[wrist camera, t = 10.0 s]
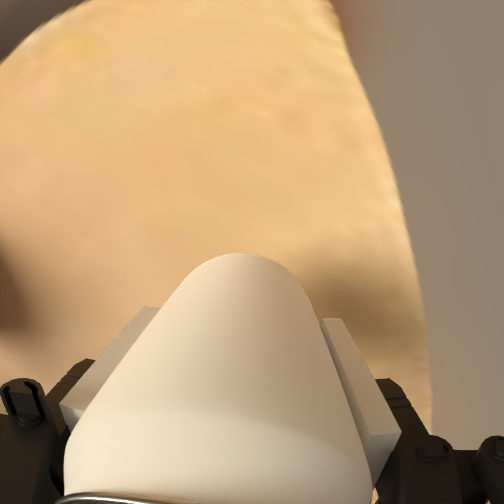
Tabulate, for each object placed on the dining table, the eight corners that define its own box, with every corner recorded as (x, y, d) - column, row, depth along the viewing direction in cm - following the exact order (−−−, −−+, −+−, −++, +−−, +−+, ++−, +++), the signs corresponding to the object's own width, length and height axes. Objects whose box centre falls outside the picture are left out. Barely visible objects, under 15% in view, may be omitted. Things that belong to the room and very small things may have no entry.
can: (332, 339, 15) (418, 567, 3) (220, 391, 16) (179, 605, 4) (268, 223, 14) (297, 418, 2) (149, 291, 15) (-19, 478, 3)
